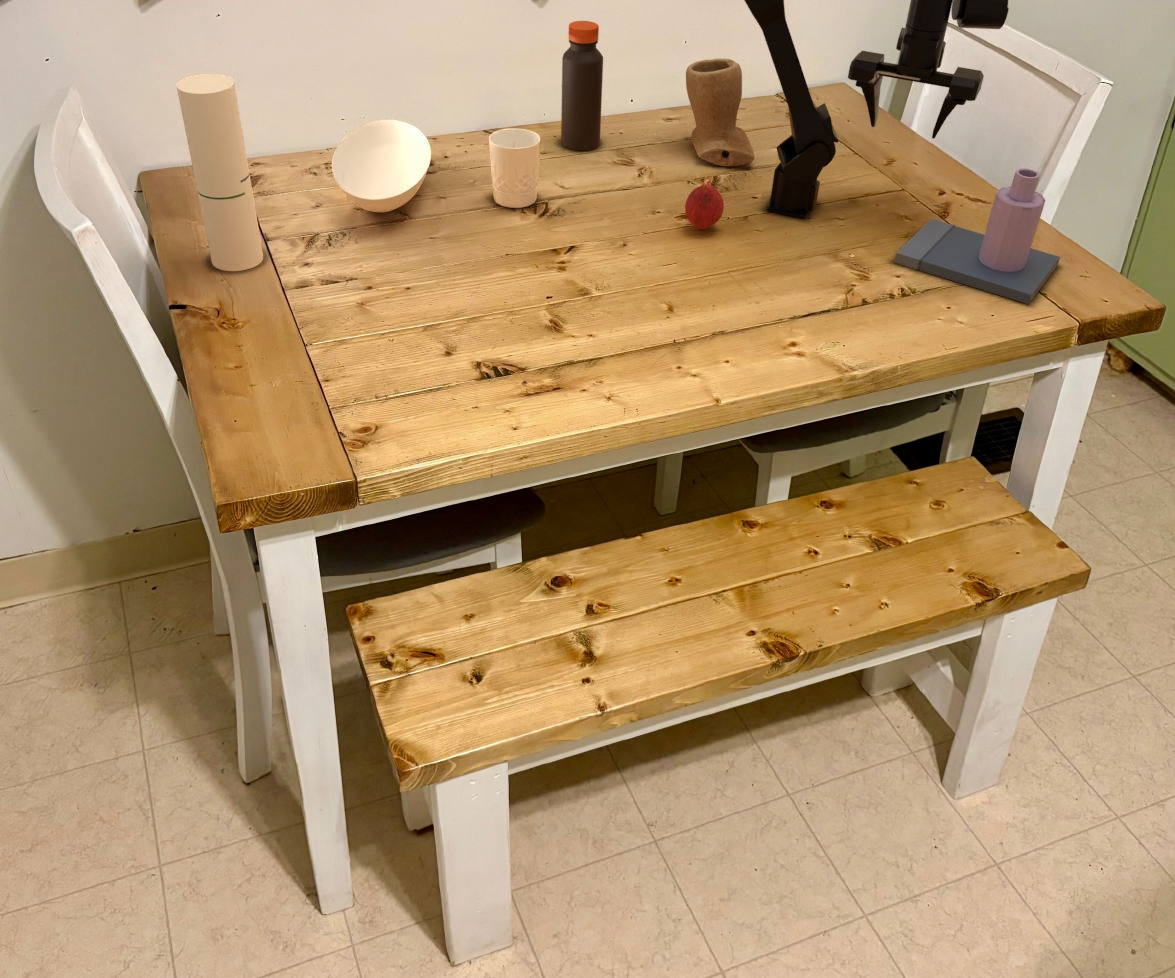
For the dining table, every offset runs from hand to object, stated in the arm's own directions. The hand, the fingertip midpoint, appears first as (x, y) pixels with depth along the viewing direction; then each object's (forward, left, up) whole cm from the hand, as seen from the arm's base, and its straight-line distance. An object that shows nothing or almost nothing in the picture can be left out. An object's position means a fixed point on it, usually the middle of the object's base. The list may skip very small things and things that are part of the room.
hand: (903, 131), depth 171 cm
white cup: (-54, -24, -13) cm, 61 cm away
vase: (+19, -12, -11) cm, 25 cm away
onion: (-24, -20, -13) cm, 34 cm away
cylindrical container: (-80, -60, -13) cm, 101 cm away
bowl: (-73, -32, -13) cm, 81 cm away
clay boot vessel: (-32, +9, -13) cm, 36 cm away
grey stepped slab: (+16, -11, -13) cm, 24 cm away
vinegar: (-54, +1, -13) cm, 56 cm away
